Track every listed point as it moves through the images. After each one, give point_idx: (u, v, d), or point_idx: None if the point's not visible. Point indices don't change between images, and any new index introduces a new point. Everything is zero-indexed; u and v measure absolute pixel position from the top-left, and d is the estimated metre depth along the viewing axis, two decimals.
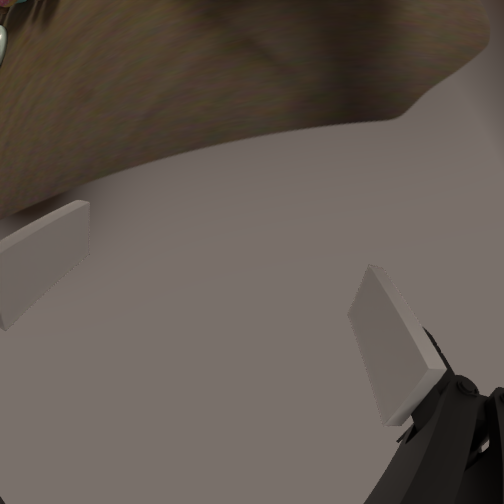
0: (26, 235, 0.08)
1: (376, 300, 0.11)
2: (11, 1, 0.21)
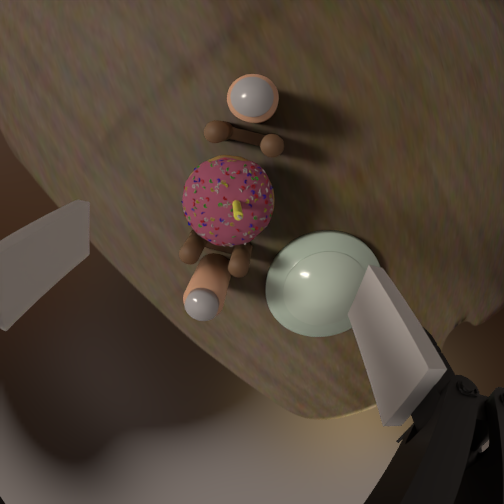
0: (26, 235, 0.08)
1: (376, 300, 0.11)
2: (272, 194, 0.26)
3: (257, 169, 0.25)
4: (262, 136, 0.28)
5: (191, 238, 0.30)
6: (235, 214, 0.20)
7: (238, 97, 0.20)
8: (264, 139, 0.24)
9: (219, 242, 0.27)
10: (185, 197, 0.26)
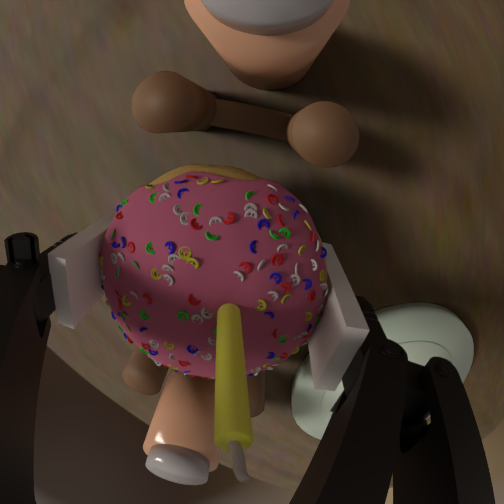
0: (96, 233, 0.09)
1: None
2: (326, 267, 0.10)
3: (285, 205, 0.09)
4: (286, 116, 0.11)
5: None
6: (220, 439, 0.04)
7: None
8: (303, 115, 0.08)
9: None
10: (103, 281, 0.10)
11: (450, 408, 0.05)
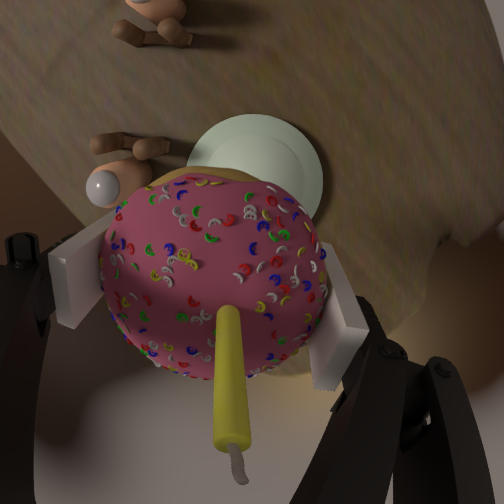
0: (96, 233, 0.09)
1: None
2: (325, 268, 0.10)
3: (284, 206, 0.09)
4: None
5: None
6: (219, 441, 0.04)
7: None
8: (160, 23, 0.20)
9: None
10: (103, 282, 0.10)
11: (450, 408, 0.05)
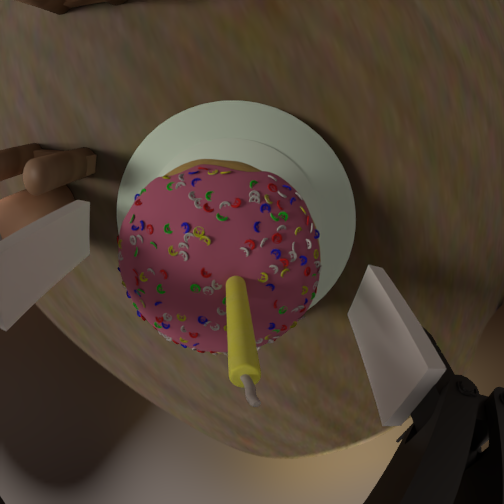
0: (26, 235, 0.08)
1: (376, 300, 0.11)
2: (319, 248, 0.11)
3: (283, 193, 0.10)
4: None
5: (4, 149, 0.13)
6: (234, 373, 0.06)
7: None
8: None
9: (204, 350, 0.12)
10: (121, 262, 0.11)
11: None
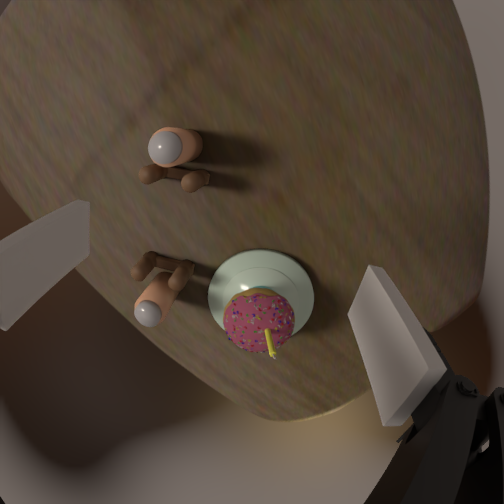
0: (26, 235, 0.08)
1: (376, 300, 0.11)
2: (294, 317, 0.33)
3: (282, 302, 0.32)
4: (191, 173, 0.33)
5: (142, 259, 0.36)
6: (270, 353, 0.28)
7: (154, 149, 0.26)
8: (183, 178, 0.30)
9: (253, 351, 0.35)
10: (226, 322, 0.33)
11: None
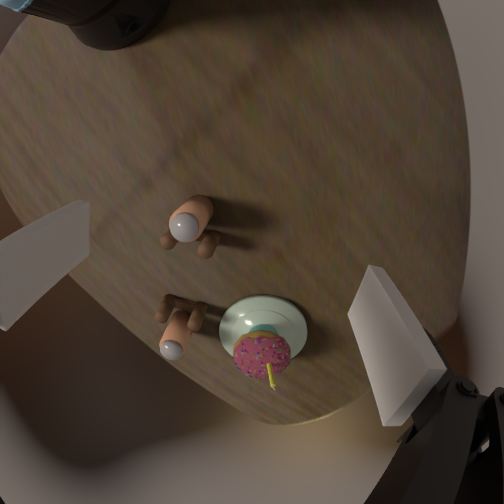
0: (26, 235, 0.08)
1: (376, 300, 0.11)
2: (290, 352, 0.41)
3: (281, 342, 0.40)
4: (204, 234, 0.40)
5: (163, 304, 0.43)
6: (271, 385, 0.35)
7: (174, 229, 0.32)
8: (199, 247, 0.36)
9: None
10: (236, 356, 0.41)
11: None
